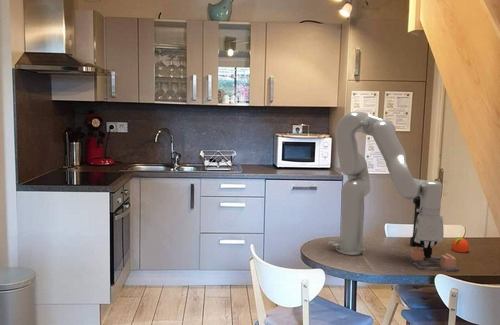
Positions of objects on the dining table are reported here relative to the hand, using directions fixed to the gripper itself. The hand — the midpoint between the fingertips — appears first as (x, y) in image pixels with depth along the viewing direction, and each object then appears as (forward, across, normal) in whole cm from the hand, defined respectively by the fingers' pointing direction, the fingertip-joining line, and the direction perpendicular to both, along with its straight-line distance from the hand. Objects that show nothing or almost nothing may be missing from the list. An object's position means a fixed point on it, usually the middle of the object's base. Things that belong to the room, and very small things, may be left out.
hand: (427, 256), depth 181 cm
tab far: (+2, -4, 0) cm, 5 cm away
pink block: (+2, +5, -7) cm, 9 cm away
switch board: (+3, 0, -4) cm, 5 cm away
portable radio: (+3, +6, +24) cm, 25 cm away
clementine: (+4, +21, +16) cm, 27 cm away
